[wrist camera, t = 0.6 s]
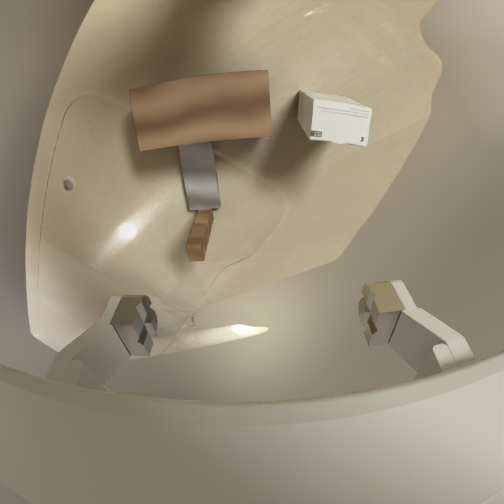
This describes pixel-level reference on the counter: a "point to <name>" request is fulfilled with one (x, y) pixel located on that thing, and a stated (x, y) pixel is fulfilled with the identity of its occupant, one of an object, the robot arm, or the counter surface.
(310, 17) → the counter surface
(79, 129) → the counter surface
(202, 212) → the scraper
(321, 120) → the skincare box
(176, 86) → the small wooden table
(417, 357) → the robot arm
